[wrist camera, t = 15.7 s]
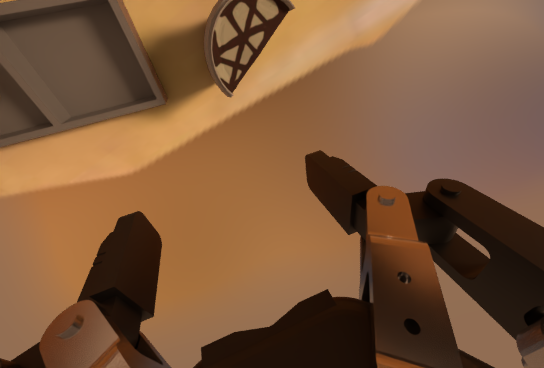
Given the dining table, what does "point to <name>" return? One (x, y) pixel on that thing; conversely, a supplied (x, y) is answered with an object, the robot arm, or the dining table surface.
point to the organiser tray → (70, 67)
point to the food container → (239, 37)
